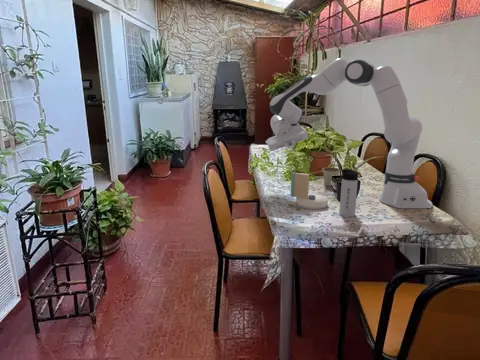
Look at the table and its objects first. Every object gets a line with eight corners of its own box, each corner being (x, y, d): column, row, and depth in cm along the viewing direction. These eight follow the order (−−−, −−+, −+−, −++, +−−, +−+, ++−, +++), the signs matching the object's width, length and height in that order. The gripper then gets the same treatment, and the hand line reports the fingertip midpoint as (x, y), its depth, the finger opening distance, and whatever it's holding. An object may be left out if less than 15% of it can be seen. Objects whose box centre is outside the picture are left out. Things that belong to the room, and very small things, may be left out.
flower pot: (339, 187, 195) (340, 172, 193) (321, 186, 197) (322, 171, 195) (338, 182, 204) (339, 167, 202) (321, 182, 206) (322, 167, 204)
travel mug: (345, 212, 159) (349, 167, 154) (357, 217, 154) (361, 171, 148) (335, 215, 156) (338, 169, 151) (347, 220, 151) (351, 173, 145)
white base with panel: (331, 202, 169) (333, 173, 165) (322, 211, 157) (324, 181, 154) (296, 196, 177) (297, 169, 173) (285, 205, 165) (286, 176, 161)
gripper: (263, 135, 187) (269, 148, 176) (301, 121, 186) (310, 134, 175) (266, 145, 191) (272, 159, 179) (303, 132, 190) (312, 145, 179)
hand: (291, 147), depth 177 cm, fingers closed
